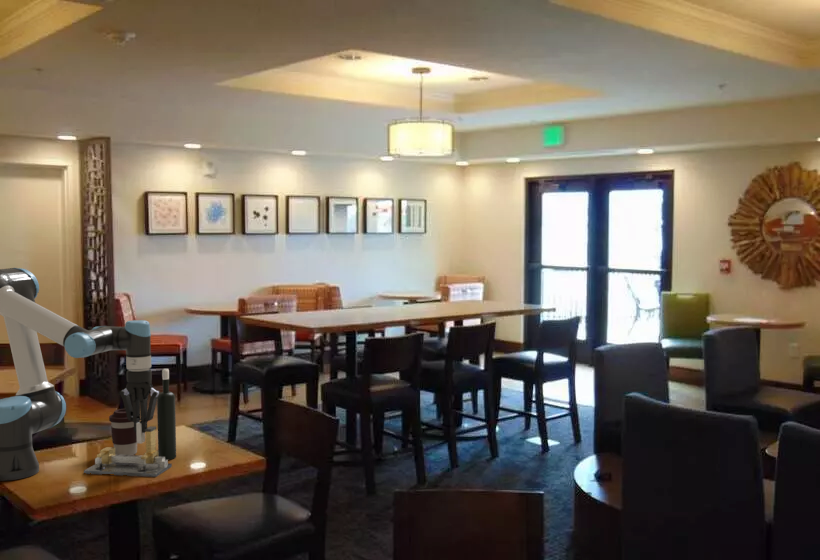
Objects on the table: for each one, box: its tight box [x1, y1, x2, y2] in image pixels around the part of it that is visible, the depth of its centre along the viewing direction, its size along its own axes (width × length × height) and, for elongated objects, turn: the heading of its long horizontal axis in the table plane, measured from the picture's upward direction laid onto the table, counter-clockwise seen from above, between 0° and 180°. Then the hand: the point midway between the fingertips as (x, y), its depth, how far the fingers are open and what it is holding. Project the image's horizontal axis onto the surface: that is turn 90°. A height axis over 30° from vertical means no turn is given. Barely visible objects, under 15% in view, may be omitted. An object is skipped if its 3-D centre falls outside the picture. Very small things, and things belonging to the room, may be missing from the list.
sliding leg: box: [141, 425, 158, 469], centre depth 254 cm, size 3×8×12 cm, turn 172°
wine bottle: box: [156, 368, 177, 461], centre depth 268 cm, size 6×6×30 cm
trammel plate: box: [83, 446, 173, 478], centre depth 255 cm, size 24×11×6 cm, turn 82°
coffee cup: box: [108, 408, 138, 455], centre depth 273 cm, size 10×10×15 cm
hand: (141, 442), depth 256 cm, fingers closed
